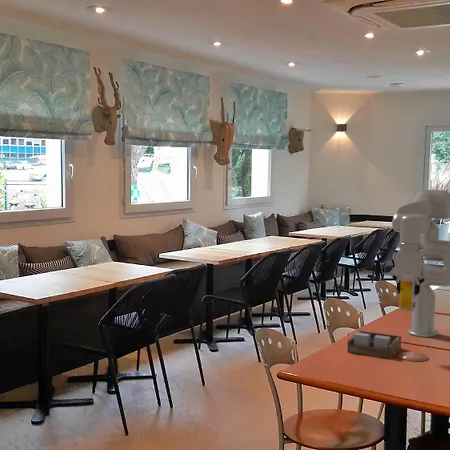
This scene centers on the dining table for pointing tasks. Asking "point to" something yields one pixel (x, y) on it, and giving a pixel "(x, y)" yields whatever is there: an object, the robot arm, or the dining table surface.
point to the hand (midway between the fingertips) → (407, 293)
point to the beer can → (407, 292)
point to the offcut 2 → (381, 342)
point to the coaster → (413, 356)
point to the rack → (392, 348)
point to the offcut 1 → (362, 339)
